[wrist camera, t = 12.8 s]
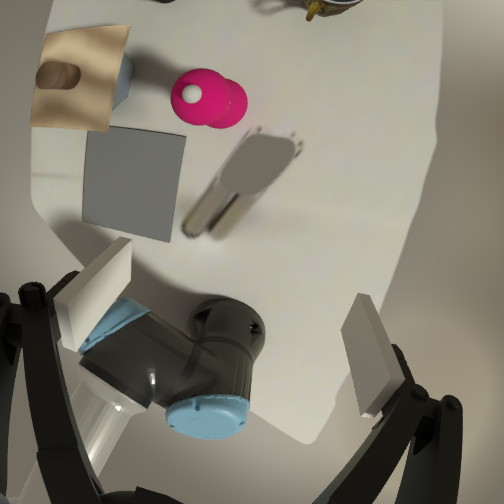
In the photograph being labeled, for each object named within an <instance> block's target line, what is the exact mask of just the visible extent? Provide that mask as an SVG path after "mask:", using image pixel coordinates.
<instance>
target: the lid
mask: <svg viewBox="0 0 504 504" xmlns="http://www.w3.org/2000/svg"><path fill="white" fill-rule="evenodd" d="M129 31H130V26H128V25H113V26H101V27H91V28H82V29H75V30H68V31H62V32H56V33H51V34H47V35H46V38H45V42H44V46H43V50H42V54H41V59H40V63H39V68H38V72H37V74H36V84H35V90H34V96H33V103H32V110H31V119H30V127H49V128H65V129H78V130H89V131H100V132H108V131H109V124H110V117H111V111H112V105H113V100H114V94H115V89H116V84H117V79H118V75H119V70H120V66H121V61H122V57H123V53H124V49H125V45H126V42H127V38H128V34H129Z"/></svg>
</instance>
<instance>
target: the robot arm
mask: <svg viewBox="0 0 504 504" xmlns="http://www.w3.org/2000/svg"><path fill="white" fill-rule="evenodd" d="M131 254H132V239H129V238H125V237H119V238H118V239H117V240H116V241H115V242H114V243H112V244H111V245H110V246H109V247H108V248H107V249H105V250H104V251H103V252H102V253H101V254H100V255H99V256H98V257H96V258H95V259H94V260H93V261H92V262H91V263H90V264H89V265H88V266H87V267H85V268H84V270H82V271H81V272H79V271H76V270H75V271H73V272H70V273H68V274H66V275H65V276H64V277H63V278H62V279H61V281H59V282H58V283H57V284H56V285H54V286H53V287H52V288H51V289H50V290H49V291H48V292H47V293H46V290H45V287H44V285H43V284H41V283H38V282H30V283H26V284H24V285H22V286H21V287H20V288H19V291H18V294H19V299H20V303H21V305H20V304H13V303H11V301H10V298H9V296H8V295H7V294H6V293H0V504H183V503H181V502H179V501H177V500H175V499H173V498H171V497H169V496H167V495H164V494H160V493H157V492H154V491H150V490H147V489H144V488H141V487H138V486H137V487H136V491H116V492H111V493H107V494H105V493H104V490H103V488H102V486H101V484H100V482H99V480H98V478H97V477H98V475H99V474H100V472H101V470H102V468H103V466H104V464H105V463H106V461H107V459H108V457H109V455H110V453H111V451H112V450H113V448H114V446H115V444H116V442H117V441H118V438H119V437H120V435H121V433H122V431H123V430H124V428H125V426H126V424H127V422H128V421H129V419H130V417H131V416H132V415H134V414H136V413H140V412H145V411H147V409H148V407H149V405H150V403H151V402H152V401H153V402H154V403H156V404H158V405H160V406H162V407H163V408H165V409H166V412H165V415H166V421H167V423H168V424H170V427H171V428H173V429H174V430H175V431H177V432H179V433H181V434H183V435H186V436H189V437H193V438H199V439H223V438H227V437H230V436H233V435H235V434H237V433H238V432H239V431H241V430H242V428H243V427H244V426H245V424H246V421H247V416H248V411H249V409H250V392H251V382H252V371H253V364H254V362H255V360H256V359H257V357H258V355H259V354H260V352H261V350H262V349H263V346H264V342H265V326H264V323H263V321H262V319H261V317H260V316H259V315H258V314H257V312H256V311H254V310H253V309H252V308H251V307H249V306H247V305H246V304H243V303H241V302H238V301H235V300H230V299H215V300H210V301H207V302H205V303H203V304H201V305H199V306H198V307H197V308H196V309H195V310H194V311H193V313H192V315H191V317H190V319H189V322H188V325H187V335H185V334H184V333H182V332H181V331H179V330H178V329H176V328H175V327H173V326H172V325H171V324H169V323H168V322H166V321H165V320H163V319H162V318H160V317H159V316H158V315H156V314H155V313H154V312H152V310H151V309H150V308H146V307H145V306H143V305H142V304H140V303H139V302H137V301H136V300H134V299H133V298H130V297H123V298H121V299H119V300H117V301H116V302H115V303H114V304H113V302H114V301H115V300H116V298H117V297H118V296H119V295H120V293H121V292H122V291H123V289H124V288H125V287H126V286H127V284H128V283H129V282H130V281H131ZM111 304H112V305H111ZM341 333H342V337H343V341H344V345H345V349H346V353H347V357H348V361H349V365H350V370H351V374H352V378H353V383H354V387H355V392H356V396H357V401H358V406H359V410H360V415H361V417H375V416H376V415H377V414H378V413H379V412H380V410H381V411H382V414H383V417H382V418H381V419H380V420H379V421H378V422H377V424H376V425H375V426H374V427H373V428H372V431H371V433H370V434H369V436H368V437H367V439H366V440H365V441H364V443H363V444H362V445H361V447H360V448H359V449H358V450H357V452H356V453H355V454H354V456H353V457H352V458H351V459H350V461H349V462H348V463H347V464H346V466H345V467H344V468H343V469H342V471H341V472H340V473H339V474H338V475H337V476H336V478H335V479H334V480H333V481H332V482H331V483H330V484H329V486H328V487H327V488H326V489H325V490H324V491H323V492H322V494H320V495H319V497H318V498H317V499H316V500H315V501H314V502H313V503H312V504H372V503H373V502H374V500H375V499H376V497H377V496H378V494H379V493H380V492H381V490H382V488H383V487H384V485H385V484H386V482H387V481H388V479H389V477H390V476H391V474H392V472H393V471H394V469H395V467H396V466H397V464H398V462H399V460H400V459H401V457H402V455H403V453H404V451H405V450H406V448H407V446H408V444H409V442H410V440H411V442H410V447H409V451H408V456H407V460H406V465H405V469H404V473H403V476H402V480H401V484H400V487H399V491H398V494H397V498H396V501H395V504H456V503H457V496H458V489H459V480H460V470H461V458H462V437H463V436H462V435H463V409H462V404H461V403H460V401H459V400H458V399H457V398H456V397H454V396H452V395H445V396H444V397H443V398H442V399H441V400H440V401H438V400H435V399H432V398H429V394H428V392H427V391H426V390H425V389H424V388H423V387H422V386H420V385H418V384H415V381H414V379H413V376H412V374H411V371H410V369H409V367H408V366H407V362H406V360H405V357H404V355H403V353H402V351H401V350H400V349H399V347H398V346H397V345H396V344H391V343H390V340H389V338H388V336H387V333H386V331H385V329H384V327H383V324H382V322H381V320H380V317H379V315H378V313H377V311H376V308H375V306H374V304H373V302H372V300H371V298H370V295H366V294H361V293H358V294H357V296H356V298H355V300H354V303H353V305H352V307H351V309H350V311H349V313H348V315H347V318H346V320H345V322H344V324H343V326H342V328H341ZM60 338H61V339H62V344H63V347H66V348H68V349H70V350H73V351H75V352H77V351H79V354H80V355H84V356H83V358H82V359H81V361H80V362H79V364H78V365H77V367H78V371H79V376H80V383H79V385H78V386H77V388H76V390H75V391H74V393H73V395H72V396H71V398H70V399H69V396H68V392H67V387H66V383H65V379H64V375H63V371H62V366H61V361H60V356H59V352H58V346H57V342H58V341H59V339H60ZM21 348H23V357H24V370H25V378H26V387H27V393H28V400H29V407H30V412H31V418H32V422H33V428H34V432H35V437H36V441H37V445H38V452H37V461H36V463H35V465H34V467H33V469H32V471H31V473H30V475H29V477H28V479H27V481H26V483H25V485H24V487H23V490H22V492H21V494H20V497H11V498H8V499H7V498H6V489H7V453H8V433H9V421H10V412H11V403H12V395H13V388H14V383H15V377H16V371H17V366H18V361H19V356H20V352H21Z"/></svg>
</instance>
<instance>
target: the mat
mask: <svg viewBox="0 0 504 504" xmlns="http://www.w3.org/2000/svg"><path fill="white" fill-rule="evenodd" d="M185 141H186V137H184V136H178V135H171V134H165V133H158V132H151V131H144V130H136V129H128V128H119V127H110V126H109V131H108V132H100V131H88V140H87V149H86V160H85V174H84V193H83V222H87V223H91V224H95V225H99V226H103V227H107V228H111V229H115V230H119V231H123V232H127V233H131V234H135V235H139V236H143V237H147V238H151V239H155V240H159V241H163V242H167V243H169V242H170V239H171V231H172V223H173V216H174V209H175V202H176V195H177V188H178V182H179V176H180V170H181V164H182V158H183V152H184V147H185Z"/></svg>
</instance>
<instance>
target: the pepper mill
mask: <svg viewBox="0 0 504 504" xmlns="http://www.w3.org/2000/svg"><path fill="white" fill-rule="evenodd" d="M247 104H248V101H247V96H246V93H245V91H244V89H243V88H242V87H241V86H240V85H239V84H238V83H236V82H234V81H232V80H229V79H225V78H224V77H223V76H222V75H220V74H219V73H218V72H216V71H213V70H210V69H194V70H191V71H188V72H187V73H185V74H183V75H182V76H181V77H179V78H178V80H177V81H176V82H175V84H174V86H173V88H172V91H171V105H172V108H173V110H174V112H175V114H176V115H177V116H178V117H179V118H180V119H181V120H183V121H184V122H187V123H189V124H192V125H207V126H209V127H213V128H218V129H224V128H228V127H231V126H233V125H235V124H236V123H238V122H239V121H240V120H241V119H242V118H243V116H244V115H245V113H246V110H247Z"/></svg>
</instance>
